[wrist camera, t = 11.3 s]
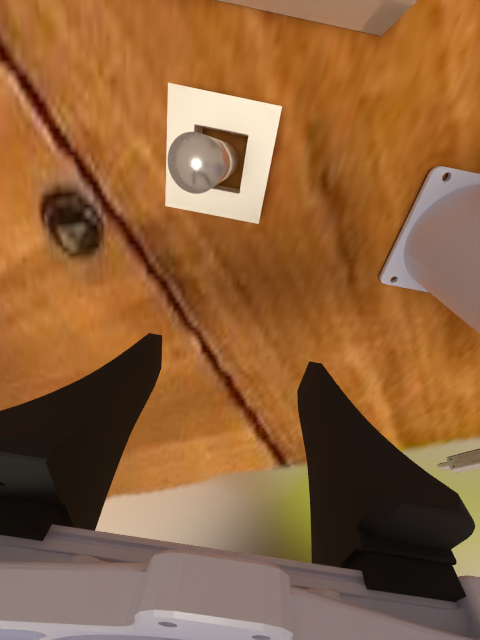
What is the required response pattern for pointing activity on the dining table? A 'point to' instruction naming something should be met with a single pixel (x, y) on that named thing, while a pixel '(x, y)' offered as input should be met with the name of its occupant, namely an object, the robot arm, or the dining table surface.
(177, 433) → the dining table surface
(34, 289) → the dining table surface
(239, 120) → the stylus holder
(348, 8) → the white slotted stand
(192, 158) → the stylus
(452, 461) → the caliper
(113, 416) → the robot arm
